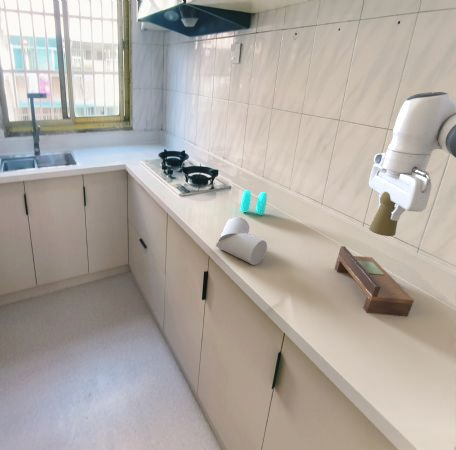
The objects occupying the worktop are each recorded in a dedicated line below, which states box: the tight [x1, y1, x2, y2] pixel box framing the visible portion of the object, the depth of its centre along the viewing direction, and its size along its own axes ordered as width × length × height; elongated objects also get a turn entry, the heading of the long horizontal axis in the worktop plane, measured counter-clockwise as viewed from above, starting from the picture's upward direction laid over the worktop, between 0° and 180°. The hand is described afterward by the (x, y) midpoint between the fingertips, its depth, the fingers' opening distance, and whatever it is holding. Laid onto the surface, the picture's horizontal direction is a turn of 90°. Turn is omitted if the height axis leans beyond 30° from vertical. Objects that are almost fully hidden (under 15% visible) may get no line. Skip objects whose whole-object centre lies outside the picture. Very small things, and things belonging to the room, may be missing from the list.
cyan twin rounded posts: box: [240, 189, 268, 216], centre depth 146 cm, size 10×10×10 cm
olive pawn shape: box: [368, 192, 399, 237], centre depth 88 cm, size 6×6×11 cm
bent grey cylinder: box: [215, 216, 268, 266], centre depth 115 cm, size 18×10×20 cm
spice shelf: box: [334, 245, 415, 317], centre depth 95 cm, size 10×22×8 cm, turn 174°
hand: (387, 215), depth 88 cm, fingers closed on olive pawn shape, 4 cm apart
